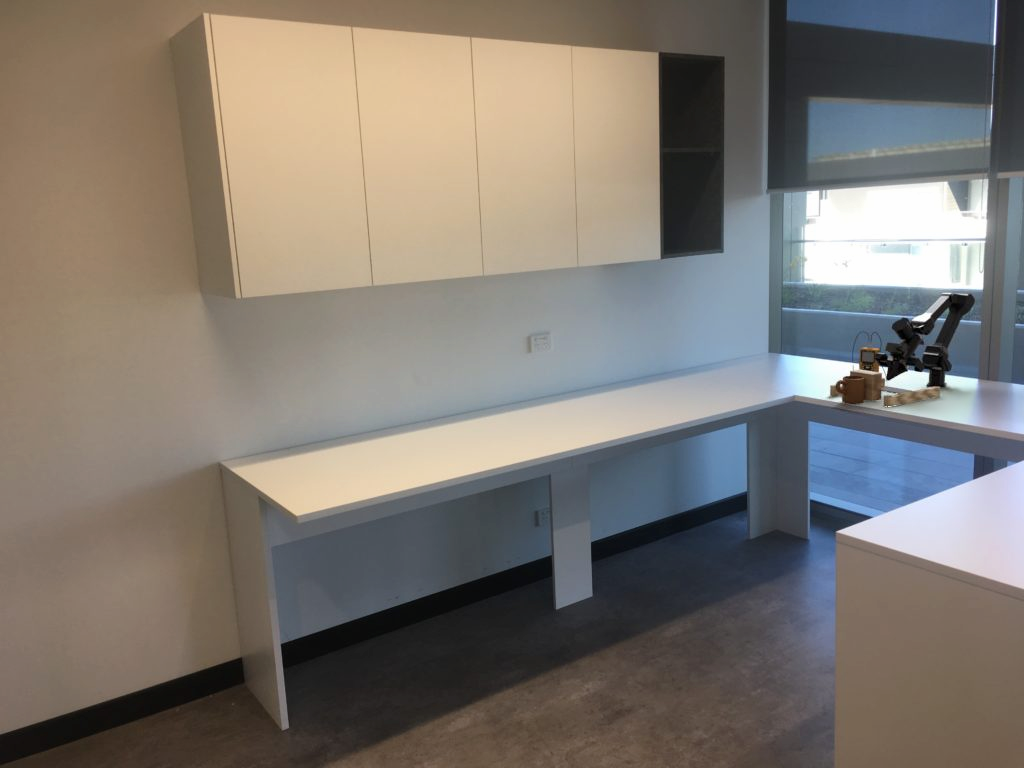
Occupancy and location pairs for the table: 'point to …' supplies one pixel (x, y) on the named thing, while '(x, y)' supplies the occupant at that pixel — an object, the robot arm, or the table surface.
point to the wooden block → (870, 384)
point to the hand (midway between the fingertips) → (887, 379)
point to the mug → (851, 389)
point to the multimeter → (868, 357)
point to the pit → (894, 390)
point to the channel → (900, 395)
